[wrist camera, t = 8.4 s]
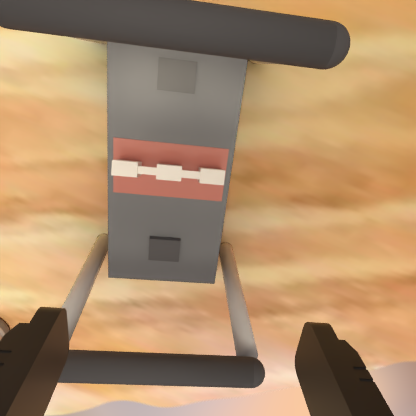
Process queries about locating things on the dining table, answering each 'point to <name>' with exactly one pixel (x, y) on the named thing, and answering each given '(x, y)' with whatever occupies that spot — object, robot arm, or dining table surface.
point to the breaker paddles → (167, 172)
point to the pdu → (164, 189)
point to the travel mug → (3, 328)
